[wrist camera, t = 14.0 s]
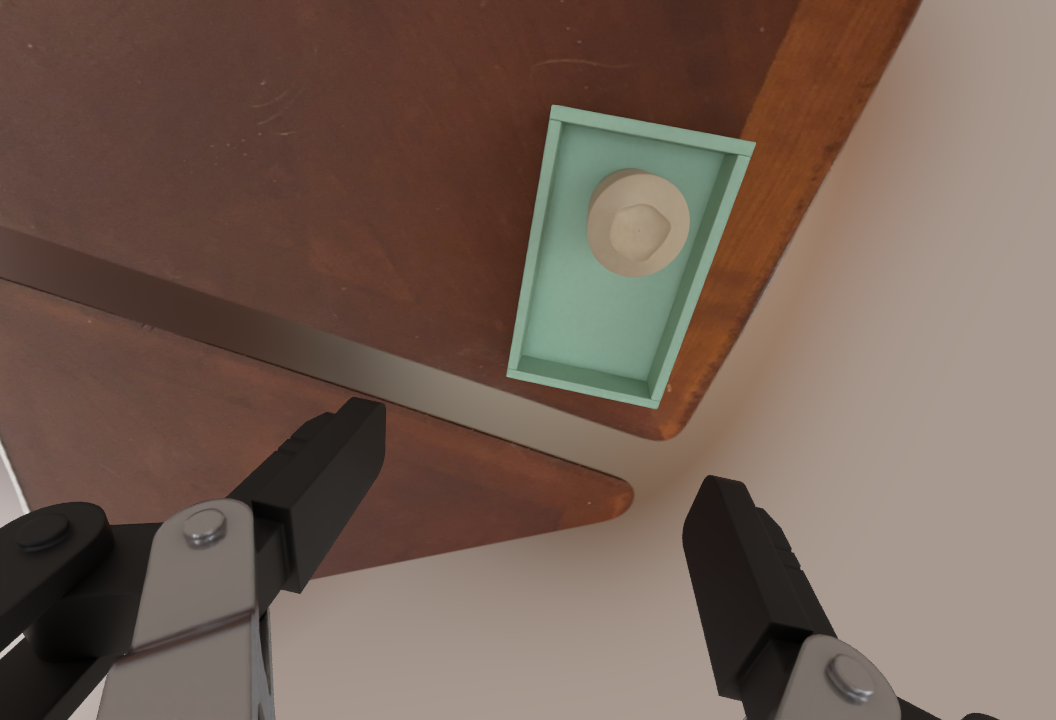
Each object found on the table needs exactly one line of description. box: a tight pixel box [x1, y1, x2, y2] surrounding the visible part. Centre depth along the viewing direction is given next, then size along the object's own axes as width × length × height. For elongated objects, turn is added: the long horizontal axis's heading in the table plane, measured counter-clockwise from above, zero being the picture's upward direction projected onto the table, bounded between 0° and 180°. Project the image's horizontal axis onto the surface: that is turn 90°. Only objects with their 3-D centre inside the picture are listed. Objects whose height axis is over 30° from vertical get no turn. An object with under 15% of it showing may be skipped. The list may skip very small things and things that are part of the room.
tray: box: [506, 104, 756, 409], centre depth 32 cm, size 20×13×4 cm, turn 170°
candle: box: [587, 168, 690, 277], centre depth 27 cm, size 6×6×10 cm
